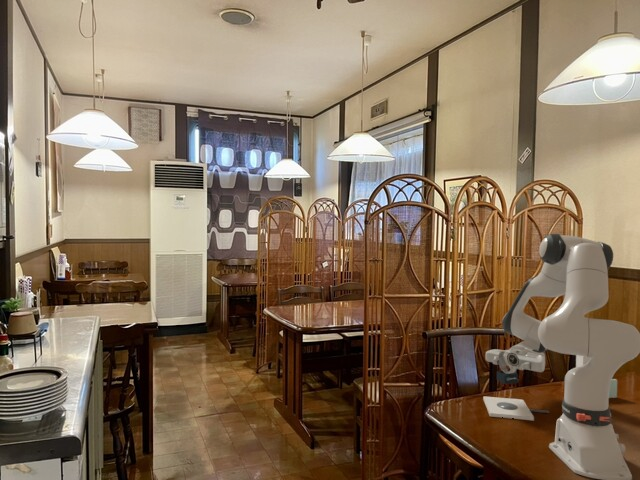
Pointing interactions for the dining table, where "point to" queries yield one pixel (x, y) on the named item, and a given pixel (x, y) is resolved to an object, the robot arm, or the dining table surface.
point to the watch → (506, 375)
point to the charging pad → (509, 408)
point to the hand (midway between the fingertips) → (507, 364)
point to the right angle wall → (613, 389)
